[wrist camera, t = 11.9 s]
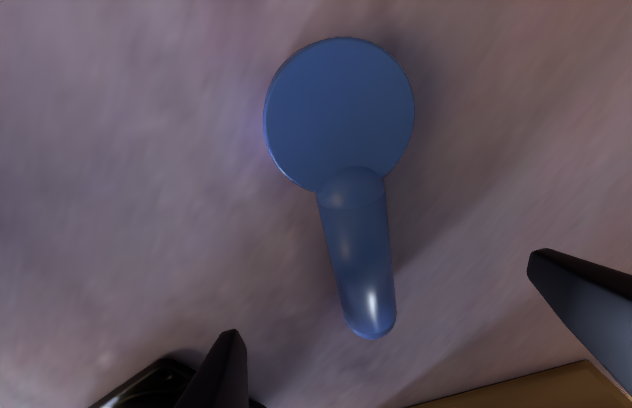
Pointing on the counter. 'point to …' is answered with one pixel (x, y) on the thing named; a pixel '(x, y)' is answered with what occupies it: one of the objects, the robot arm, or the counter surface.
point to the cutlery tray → (544, 391)
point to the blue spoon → (345, 160)
